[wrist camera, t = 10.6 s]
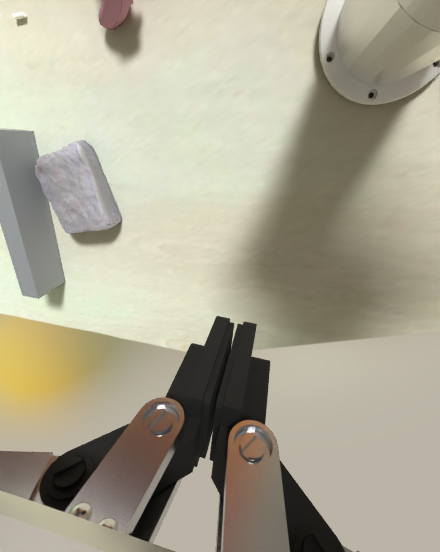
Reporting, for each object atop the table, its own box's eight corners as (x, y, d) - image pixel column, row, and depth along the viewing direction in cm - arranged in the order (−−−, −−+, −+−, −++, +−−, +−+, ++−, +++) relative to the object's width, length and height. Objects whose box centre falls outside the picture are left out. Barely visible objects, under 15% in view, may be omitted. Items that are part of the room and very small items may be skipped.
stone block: (87, 231, 45) (129, 222, 40) (62, 240, 41) (105, 232, 37) (54, 157, 41) (96, 136, 36) (22, 159, 37) (65, 137, 32)
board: (15, 129, 38) (-29, 127, 33) (33, 131, 37) (-8, 129, 32) (50, 278, 49) (22, 295, 44) (65, 281, 49) (38, 298, 43)
